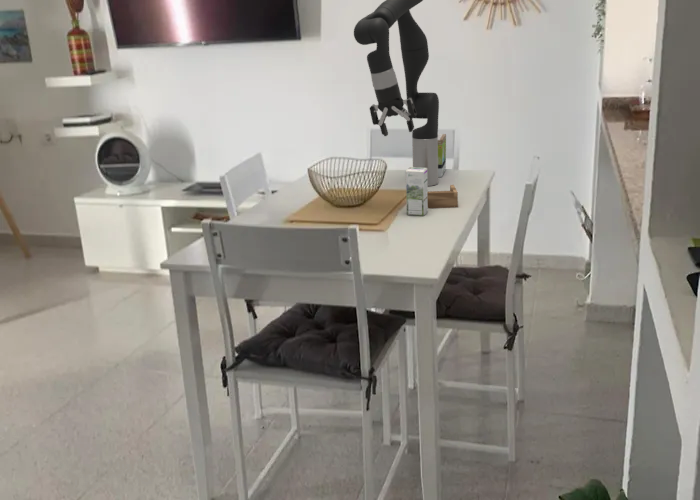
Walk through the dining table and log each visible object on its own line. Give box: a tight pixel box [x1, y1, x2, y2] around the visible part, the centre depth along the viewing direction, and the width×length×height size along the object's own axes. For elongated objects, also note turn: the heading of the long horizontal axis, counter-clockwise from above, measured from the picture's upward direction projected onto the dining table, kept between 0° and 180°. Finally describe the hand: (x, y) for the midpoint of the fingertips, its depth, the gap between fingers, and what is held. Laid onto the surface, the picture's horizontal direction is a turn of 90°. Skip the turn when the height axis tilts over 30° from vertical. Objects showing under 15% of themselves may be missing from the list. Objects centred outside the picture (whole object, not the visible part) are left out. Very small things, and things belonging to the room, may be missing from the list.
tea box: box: [438, 133, 447, 178], centre depth 291 cm, size 15×10×15 cm, turn 168°
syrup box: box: [405, 166, 429, 217], centre depth 234 cm, size 6×6×14 cm
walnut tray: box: [427, 184, 459, 209], centre depth 247 cm, size 11×11×5 cm
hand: (398, 133), depth 237 cm, fingers open, 8 cm apart
